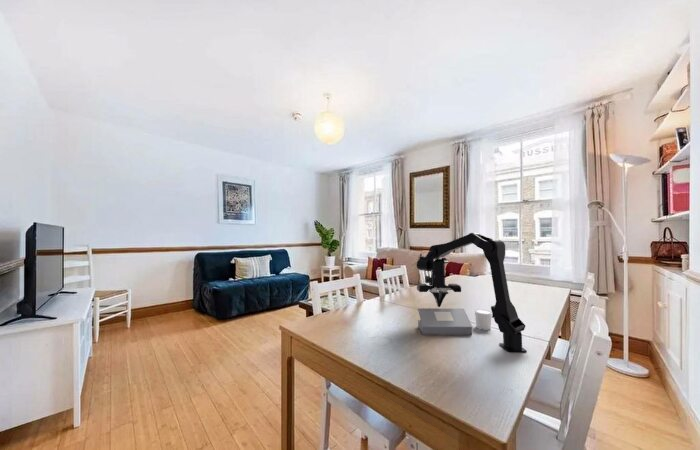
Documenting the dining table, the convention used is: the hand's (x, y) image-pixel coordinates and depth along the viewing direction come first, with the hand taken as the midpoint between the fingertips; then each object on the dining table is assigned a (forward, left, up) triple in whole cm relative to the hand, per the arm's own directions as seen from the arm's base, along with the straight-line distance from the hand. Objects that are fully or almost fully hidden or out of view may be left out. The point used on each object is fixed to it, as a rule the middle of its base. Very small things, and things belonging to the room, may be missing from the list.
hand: (438, 306), depth 122 cm
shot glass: (-2, -19, -9) cm, 21 cm away
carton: (-7, 0, -8) cm, 11 cm away
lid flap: (-7, 0, -3) cm, 8 cm away
